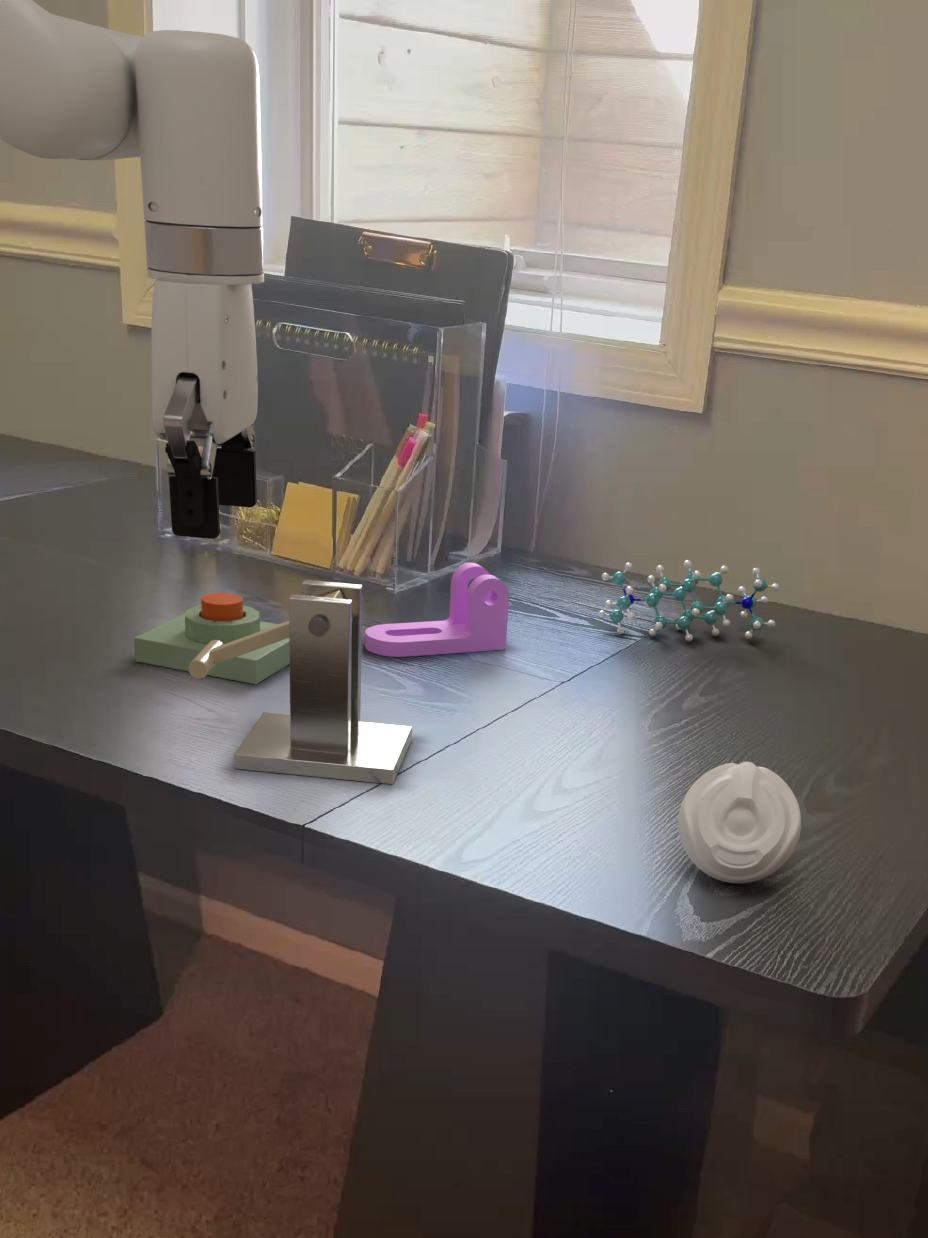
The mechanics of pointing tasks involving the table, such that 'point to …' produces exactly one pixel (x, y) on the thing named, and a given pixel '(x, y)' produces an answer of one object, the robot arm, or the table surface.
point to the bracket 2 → (452, 621)
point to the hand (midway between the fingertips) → (216, 520)
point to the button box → (192, 634)
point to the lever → (240, 646)
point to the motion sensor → (739, 822)
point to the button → (222, 607)
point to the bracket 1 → (325, 699)
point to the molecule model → (680, 595)
